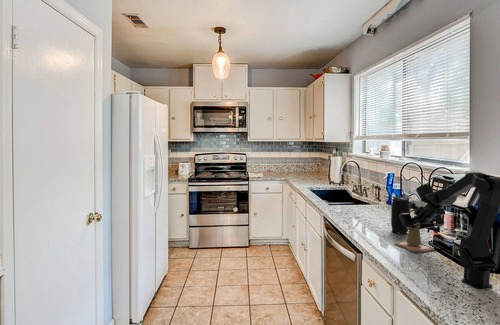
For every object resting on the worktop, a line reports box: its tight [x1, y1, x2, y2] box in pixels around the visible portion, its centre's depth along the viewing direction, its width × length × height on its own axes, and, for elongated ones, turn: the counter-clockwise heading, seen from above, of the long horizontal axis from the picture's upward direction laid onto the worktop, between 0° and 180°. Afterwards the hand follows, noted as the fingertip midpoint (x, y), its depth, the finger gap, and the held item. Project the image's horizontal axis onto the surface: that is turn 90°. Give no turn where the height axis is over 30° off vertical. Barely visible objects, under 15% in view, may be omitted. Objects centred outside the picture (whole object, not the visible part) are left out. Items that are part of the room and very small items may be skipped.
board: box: [394, 238, 435, 255], centre depth 140 cm, size 12×20×1 cm, turn 108°
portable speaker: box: [390, 195, 411, 235], centre depth 160 cm, size 9×9×20 cm
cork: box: [406, 223, 422, 245], centre depth 138 cm, size 6×6×11 cm
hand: (412, 228), depth 139 cm, fingers closed on cork, 5 cm apart
